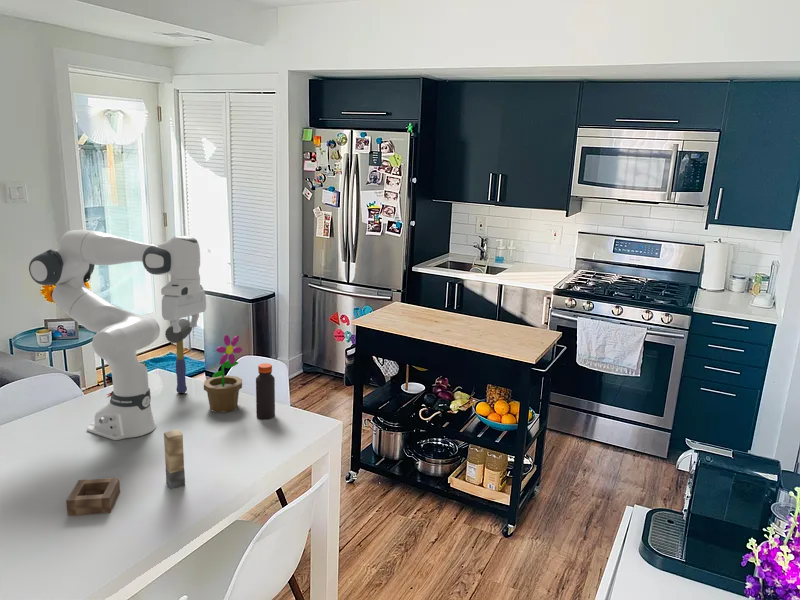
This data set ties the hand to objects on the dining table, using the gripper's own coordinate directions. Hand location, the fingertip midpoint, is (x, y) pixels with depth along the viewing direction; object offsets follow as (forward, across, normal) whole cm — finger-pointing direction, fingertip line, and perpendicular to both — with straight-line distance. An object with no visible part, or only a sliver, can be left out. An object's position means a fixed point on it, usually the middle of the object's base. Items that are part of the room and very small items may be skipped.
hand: (185, 329), depth 194 cm
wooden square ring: (+42, +37, -5) cm, 56 cm away
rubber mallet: (+36, -41, -26) cm, 61 cm away
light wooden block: (+41, +22, +10) cm, 48 cm away
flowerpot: (+37, -33, -4) cm, 50 cm away
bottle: (+37, -30, +15) cm, 50 cm away
